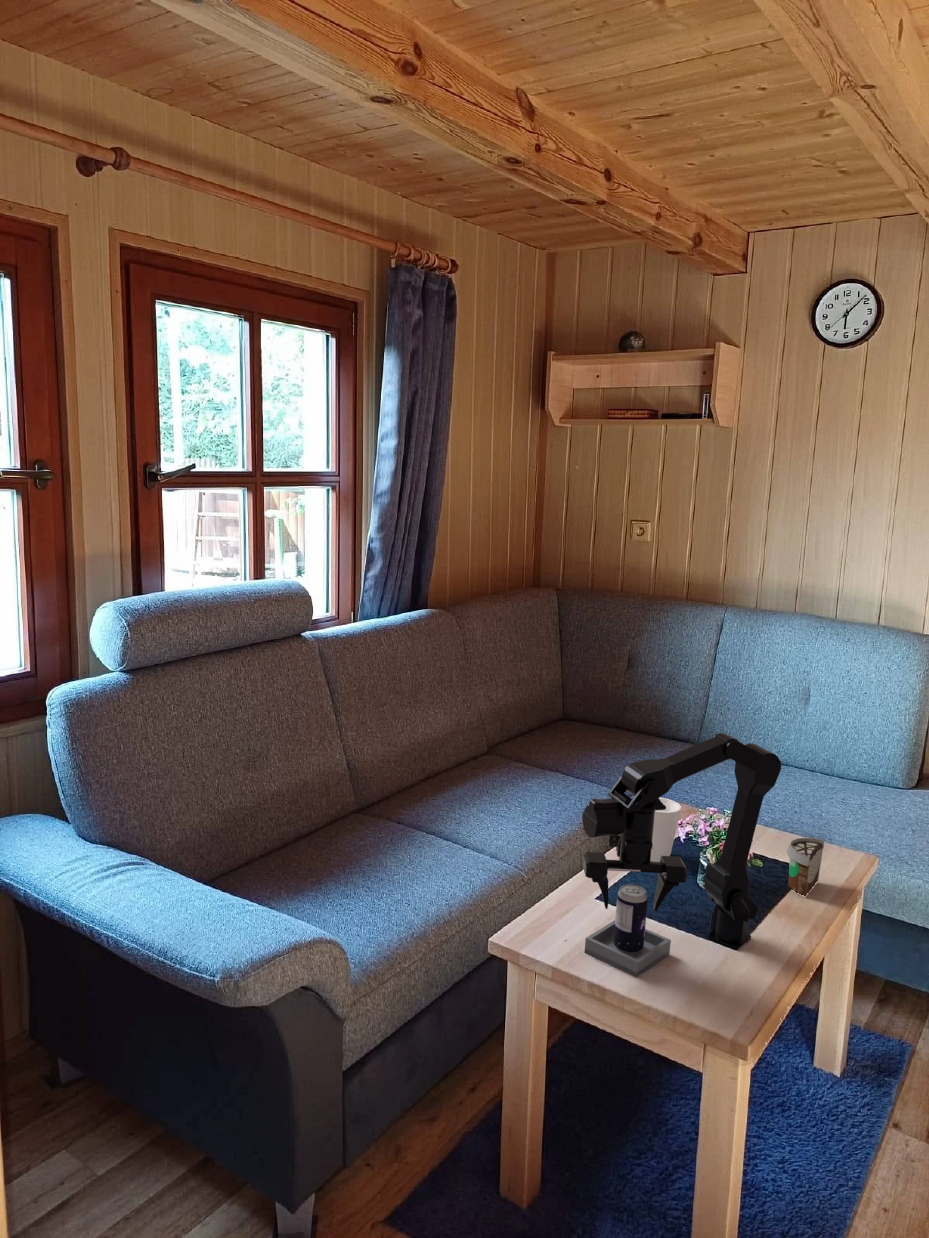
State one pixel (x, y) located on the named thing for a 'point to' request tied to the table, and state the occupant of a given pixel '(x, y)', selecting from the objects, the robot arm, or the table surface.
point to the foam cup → (664, 829)
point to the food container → (804, 863)
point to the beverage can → (630, 919)
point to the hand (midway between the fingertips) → (630, 908)
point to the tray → (632, 964)
